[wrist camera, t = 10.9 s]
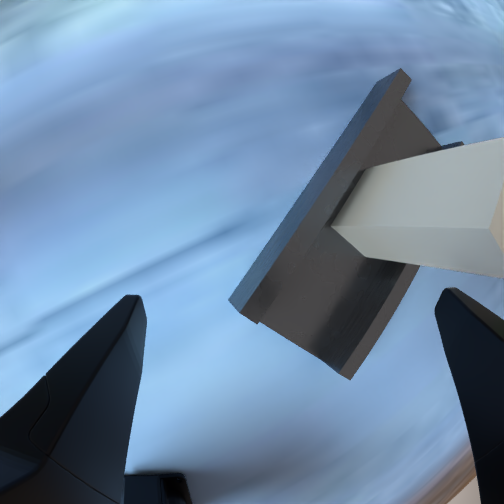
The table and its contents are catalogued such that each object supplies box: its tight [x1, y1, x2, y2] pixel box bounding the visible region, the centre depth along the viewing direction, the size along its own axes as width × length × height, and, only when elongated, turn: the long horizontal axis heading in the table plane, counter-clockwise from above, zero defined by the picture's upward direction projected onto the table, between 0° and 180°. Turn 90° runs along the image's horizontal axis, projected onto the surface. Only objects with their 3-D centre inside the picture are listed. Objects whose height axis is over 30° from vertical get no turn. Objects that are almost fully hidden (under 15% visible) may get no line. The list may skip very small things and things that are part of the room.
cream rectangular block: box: [331, 137, 504, 279], centre depth 15 cm, size 5×4×12 cm
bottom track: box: [228, 68, 464, 380], centre depth 20 cm, size 20×9×3 cm, turn 144°
